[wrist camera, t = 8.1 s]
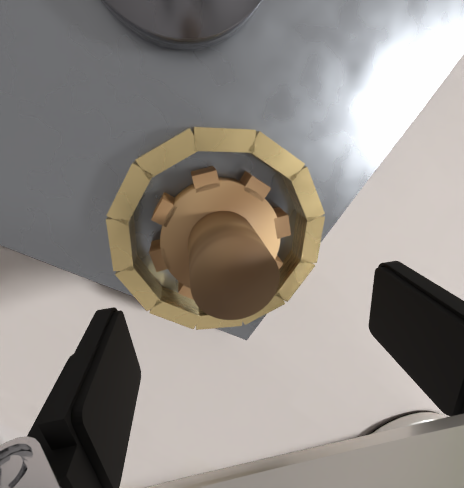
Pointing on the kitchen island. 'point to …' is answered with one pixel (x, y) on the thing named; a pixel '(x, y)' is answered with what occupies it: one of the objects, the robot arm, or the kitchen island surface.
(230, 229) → the planet gear
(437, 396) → the robot arm
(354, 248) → the kitchen island surface
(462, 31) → the carrier plate
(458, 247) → the kitchen island surface
